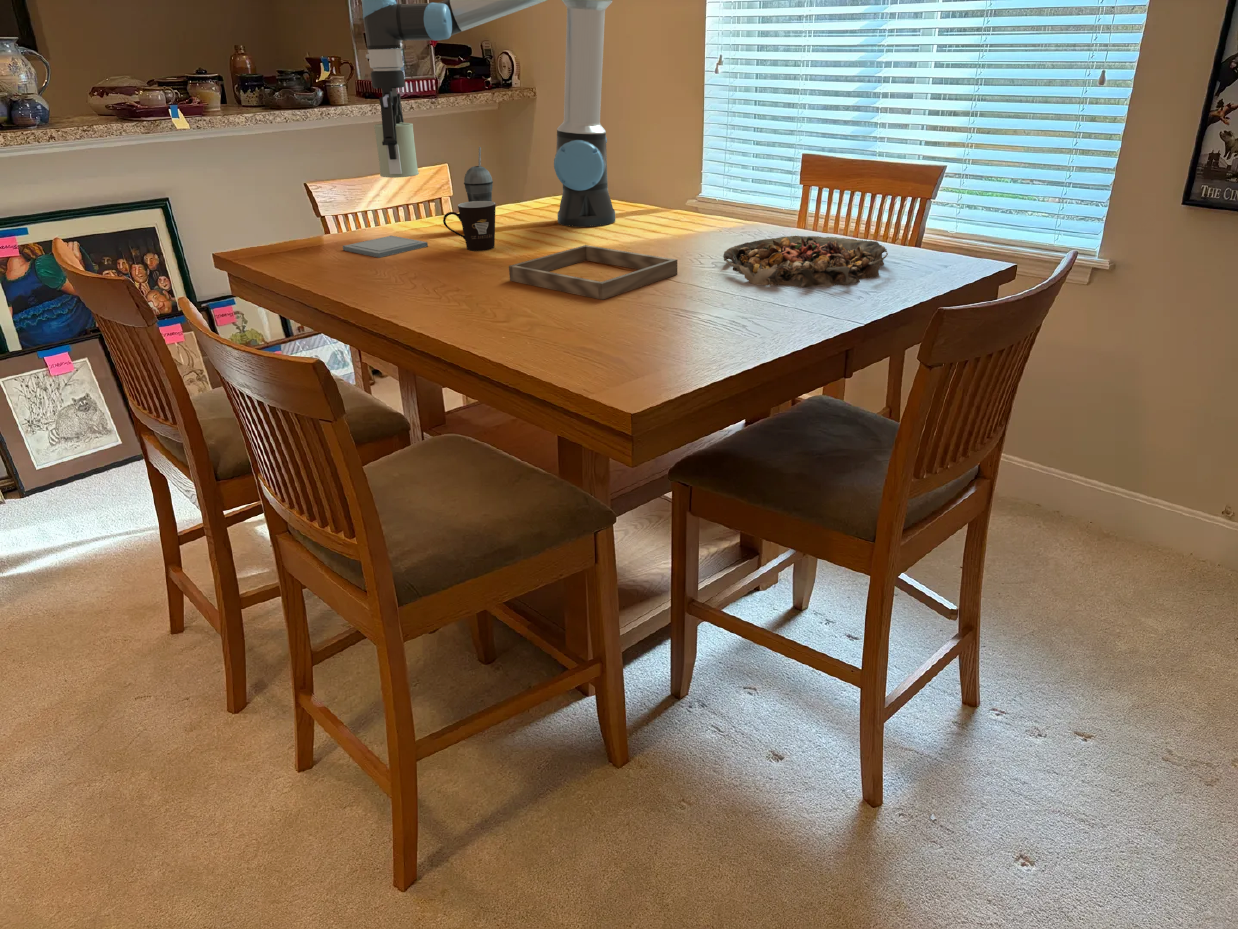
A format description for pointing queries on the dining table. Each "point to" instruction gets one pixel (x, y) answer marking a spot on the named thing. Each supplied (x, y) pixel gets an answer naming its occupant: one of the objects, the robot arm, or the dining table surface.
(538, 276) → the walnut frame
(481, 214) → the coffee mug
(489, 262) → the dining table surface
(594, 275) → the dining table surface
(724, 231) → the dining table surface
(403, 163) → the can
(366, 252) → the slate coaster
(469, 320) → the dining table surface
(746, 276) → the food dish
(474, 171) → the beverage cup
